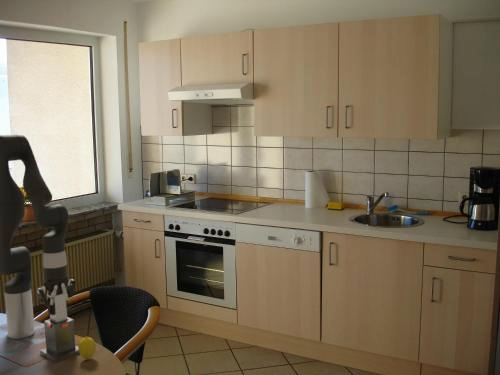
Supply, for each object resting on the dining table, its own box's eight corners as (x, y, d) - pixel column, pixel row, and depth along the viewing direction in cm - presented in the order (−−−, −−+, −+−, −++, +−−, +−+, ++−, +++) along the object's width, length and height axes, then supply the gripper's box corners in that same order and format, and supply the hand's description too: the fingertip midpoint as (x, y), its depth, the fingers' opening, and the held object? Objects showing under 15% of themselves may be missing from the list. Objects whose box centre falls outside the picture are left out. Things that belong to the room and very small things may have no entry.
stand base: (40, 354, 187) (37, 321, 185) (66, 344, 194) (64, 312, 193) (55, 362, 180) (52, 328, 179) (82, 352, 188) (79, 319, 186)
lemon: (91, 363, 179) (90, 340, 178) (76, 362, 181) (74, 339, 179) (99, 356, 185) (97, 333, 184) (84, 355, 186) (82, 332, 185)
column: (51, 346, 187) (48, 293, 184) (63, 342, 190) (59, 290, 187) (58, 349, 184) (54, 296, 181) (69, 345, 187) (65, 293, 184)
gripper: (68, 257, 190) (71, 304, 193) (29, 266, 180) (33, 316, 182) (79, 261, 185) (82, 309, 188) (40, 270, 175) (44, 321, 177)
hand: (58, 312), depth 185 cm, fingers closed on column, 4 cm apart
